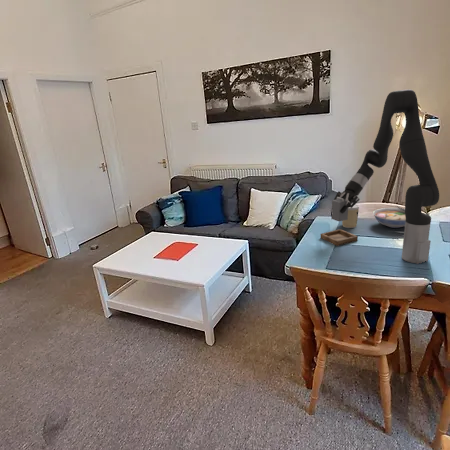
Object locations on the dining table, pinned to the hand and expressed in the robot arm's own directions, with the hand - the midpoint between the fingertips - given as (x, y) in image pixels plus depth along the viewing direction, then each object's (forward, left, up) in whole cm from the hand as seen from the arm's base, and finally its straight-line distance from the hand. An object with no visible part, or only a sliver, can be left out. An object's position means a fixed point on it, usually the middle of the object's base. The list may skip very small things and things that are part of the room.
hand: (337, 211), depth 163 cm
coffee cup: (+13, -21, -16) cm, 29 cm away
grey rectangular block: (0, -2, -5) cm, 5 cm away
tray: (0, -2, -16) cm, 16 cm away
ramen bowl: (-1, -40, -16) cm, 43 cm away
